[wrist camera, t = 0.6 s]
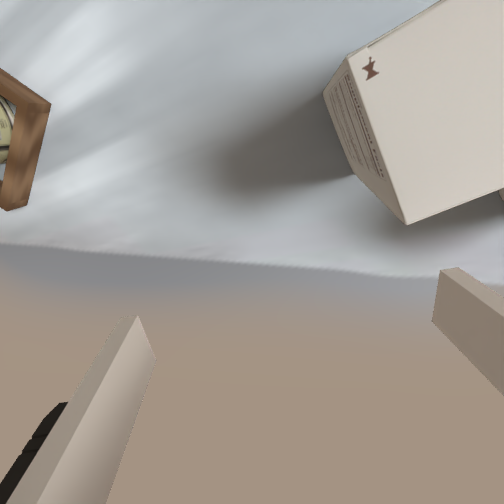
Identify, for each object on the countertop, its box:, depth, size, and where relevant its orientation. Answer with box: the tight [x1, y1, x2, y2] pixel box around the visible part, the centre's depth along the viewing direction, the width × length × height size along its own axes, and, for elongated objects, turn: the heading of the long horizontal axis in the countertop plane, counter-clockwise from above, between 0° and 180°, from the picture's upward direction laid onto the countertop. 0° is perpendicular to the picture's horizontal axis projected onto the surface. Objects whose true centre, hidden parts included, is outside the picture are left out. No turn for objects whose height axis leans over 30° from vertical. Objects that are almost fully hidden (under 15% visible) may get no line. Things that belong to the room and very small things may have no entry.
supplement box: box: [322, 0, 504, 225], centre depth 20 cm, size 10×9×17 cm
